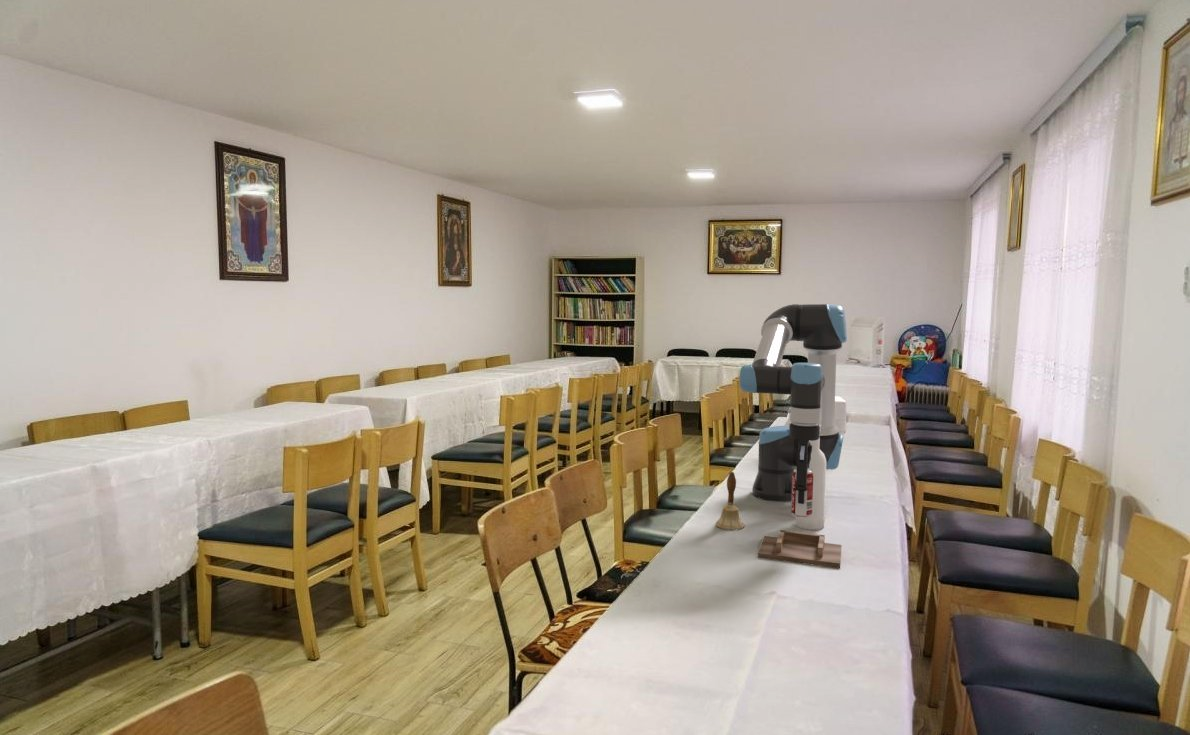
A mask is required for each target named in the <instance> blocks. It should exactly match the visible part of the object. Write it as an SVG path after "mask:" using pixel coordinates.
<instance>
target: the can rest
mask: <svg viewBox="0 0 1190 735" xmlns="http://www.w3.org/2000/svg"><path fill="white" fill-rule="evenodd" d="M757 558H758V559H759V558H760V559H766V560H774V561H783V562H788V561H789V562H791V563H796V564H797V563H798V564H804V563H805V564H804V565H811V564H813V565H812V566H819V565H820V566H821V567H827V568H834V567H835V569H841V562H842V559H841V558H842V544H837V543H829V542H825V534H817V533H816V534H815V533H808V532H799V531H790V530H782V529H780V530H779V534H778V536H769V535H764V536H763V539H762V541H761V544H760V546H759V549H758V551H757ZM820 566H819V567H820Z"/></svg>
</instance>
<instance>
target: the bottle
mask: <svg viewBox="0 0 1190 735" xmlns="http://www.w3.org/2000/svg"><path fill="white" fill-rule="evenodd" d="M819 426H820V425H819ZM820 431H821V430H820ZM809 443H810V444H811V445H812V452H811V460H810V464H809V469H812V473H813V502H812V515H811V516H810V517H797V516H795V521H796V522H795V524H796V526H797V527H798V528H800V529H804V530H807V529H808V530H810V531H818V530H823V528H825V519H826V517H825V513H826V512H825V511H826V510H825V508H826V507H825V506H826V505H825V504H826V487H827V486H826V484H827V483H826V482H827V469H826V458H825V455H824V453H823V452H822V451H821V450H820V449H819V443H820V437H819V439H818V440H814V441H811V440H809Z"/></svg>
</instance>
